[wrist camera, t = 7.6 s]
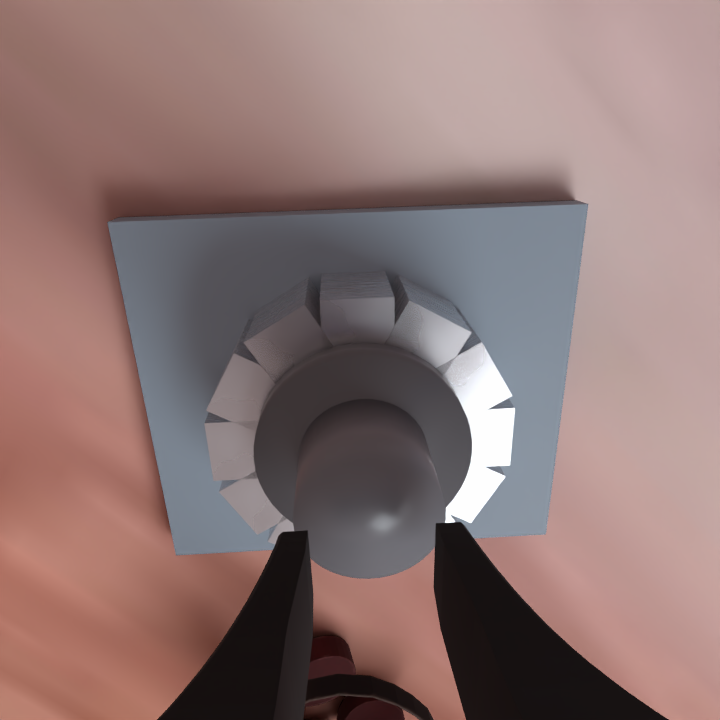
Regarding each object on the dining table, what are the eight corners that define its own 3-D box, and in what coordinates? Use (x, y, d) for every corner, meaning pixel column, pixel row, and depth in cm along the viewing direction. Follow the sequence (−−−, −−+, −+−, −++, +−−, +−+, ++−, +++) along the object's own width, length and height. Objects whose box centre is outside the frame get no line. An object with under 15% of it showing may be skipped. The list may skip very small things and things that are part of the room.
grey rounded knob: (453, 311, 20) (512, 401, 13) (441, 471, 22) (486, 611, 16) (261, 313, 19) (226, 407, 13) (273, 475, 22) (248, 620, 16)
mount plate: (576, 200, 20) (588, 204, 19) (537, 519, 25) (545, 534, 24) (118, 217, 19) (107, 222, 18) (181, 539, 25) (176, 555, 24)
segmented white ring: (496, 266, 19) (525, 291, 16) (480, 500, 23) (501, 555, 20) (207, 277, 19) (185, 305, 16) (241, 513, 23) (227, 570, 20)
